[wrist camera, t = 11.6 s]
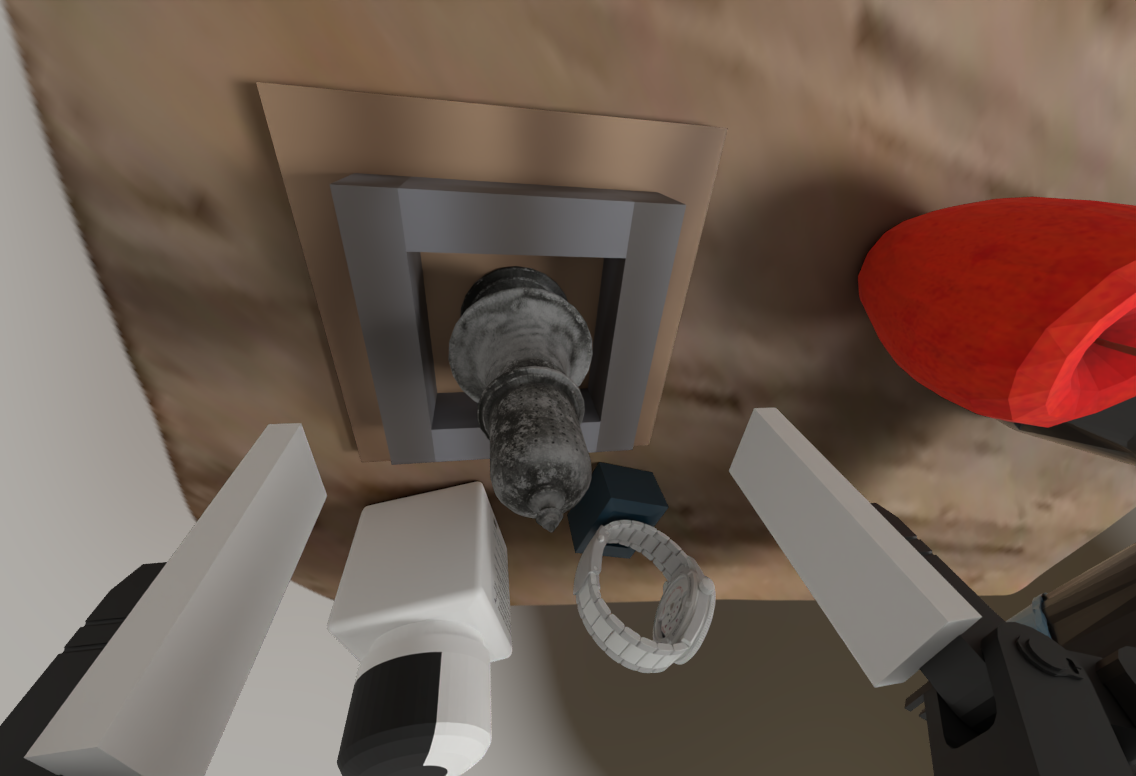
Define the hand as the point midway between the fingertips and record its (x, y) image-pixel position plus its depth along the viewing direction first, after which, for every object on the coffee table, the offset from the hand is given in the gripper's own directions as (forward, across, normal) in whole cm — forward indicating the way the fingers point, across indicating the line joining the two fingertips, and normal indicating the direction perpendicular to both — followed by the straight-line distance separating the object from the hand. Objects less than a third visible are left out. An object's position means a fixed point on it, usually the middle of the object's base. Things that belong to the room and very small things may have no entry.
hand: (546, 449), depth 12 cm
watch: (+10, -6, +14) cm, 18 cm away
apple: (+10, -20, -3) cm, 23 cm away
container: (+10, +6, +16) cm, 20 cm away
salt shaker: (+9, 0, 0) cm, 9 cm away
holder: (+10, 0, 0) cm, 10 cm away
